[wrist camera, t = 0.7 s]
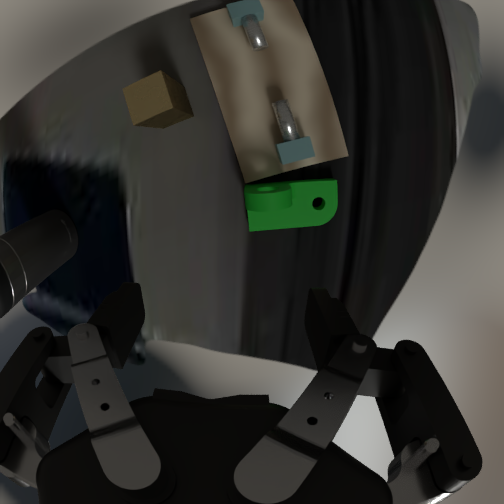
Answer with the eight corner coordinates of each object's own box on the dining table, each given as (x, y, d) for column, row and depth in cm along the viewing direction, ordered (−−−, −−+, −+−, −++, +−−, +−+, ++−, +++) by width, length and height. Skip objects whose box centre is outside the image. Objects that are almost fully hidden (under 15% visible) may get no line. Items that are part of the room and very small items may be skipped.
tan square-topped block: (163, 128, 33) (133, 125, 24) (154, 100, 31) (122, 88, 22) (194, 116, 33) (172, 107, 23) (184, 87, 31) (161, 70, 22)
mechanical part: (249, 226, 39) (248, 248, 31) (245, 184, 36) (242, 195, 29) (333, 219, 38) (351, 239, 31) (332, 178, 36) (352, 188, 28)
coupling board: (245, 181, 36) (244, 187, 32) (191, 23, 27) (184, 10, 23) (344, 155, 34) (356, 157, 30) (288, -1, 25) (292, -16, 21)
